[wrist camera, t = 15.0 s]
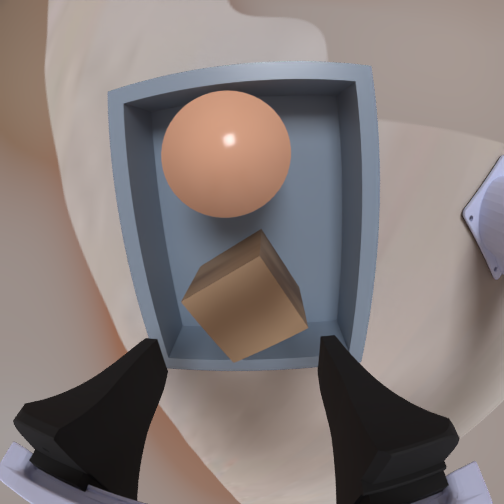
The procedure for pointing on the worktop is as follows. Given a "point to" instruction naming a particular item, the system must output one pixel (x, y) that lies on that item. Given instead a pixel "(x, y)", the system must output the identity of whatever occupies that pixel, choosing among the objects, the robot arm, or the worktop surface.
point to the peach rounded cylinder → (226, 154)
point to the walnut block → (246, 298)
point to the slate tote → (266, 217)
